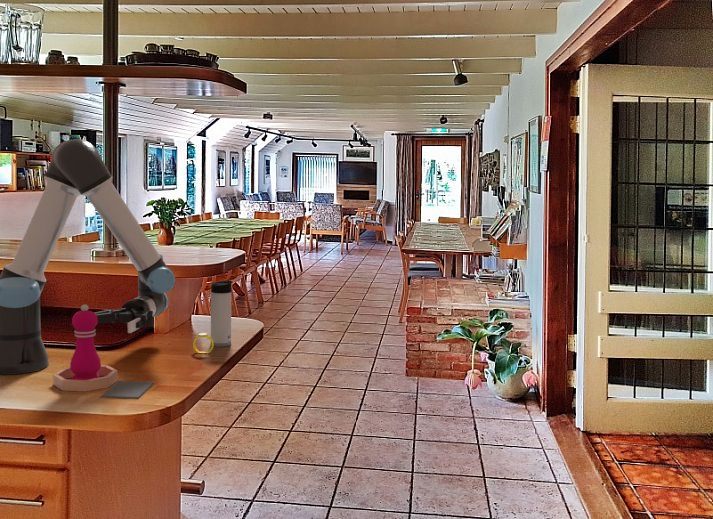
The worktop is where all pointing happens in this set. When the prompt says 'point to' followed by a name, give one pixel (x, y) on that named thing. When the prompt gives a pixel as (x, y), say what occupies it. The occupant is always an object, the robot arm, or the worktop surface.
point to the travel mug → (221, 313)
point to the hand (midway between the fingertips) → (104, 327)
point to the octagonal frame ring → (85, 385)
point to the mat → (127, 389)
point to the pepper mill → (85, 346)
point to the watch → (203, 336)
